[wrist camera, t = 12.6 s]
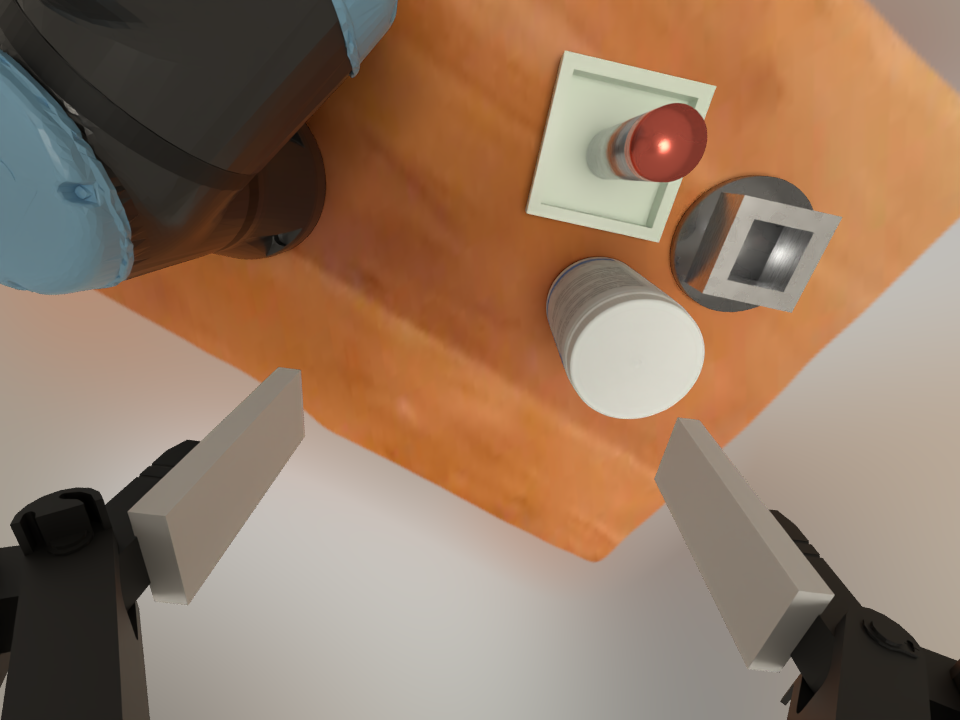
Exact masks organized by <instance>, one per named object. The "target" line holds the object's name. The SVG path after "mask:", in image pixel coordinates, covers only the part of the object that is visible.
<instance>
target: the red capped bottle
mask: <svg viewBox="0 0 960 720" xmlns="http://www.w3.org/2000/svg"><path fill="white" fill-rule="evenodd" d="M706 143H707V129H706V124H705V121H704V119H703V117H702V116H701V115H700V113H699V112H698V111H697V110H696V109H694V108H693V107H691V106H689V105H687V104H683V103H671V104H667V105H664V106H661V107H659V108H656V109H654V110H651V111H649V112H646V113H644V114H641V115H639V116H637V117H634V118H632V119H629V120H627V121H624V122H622V123H619V124H617V125H614V126H612V127H609V128H607V129H604V130H602V131H600V132H599V133H598V134H596V135H595V136H594V137H593V139H592V140H591V142H590V144H589V146H588V149H587V154H586V160H587V164H588V167H589V169H590V171H591V172H592V173H593V174H594V175H595V176H597V177H599V178H601V179H609V180H628V181H646V182H672V181H676V180H678V179H681V178H682V177H684V176H686V175H687V174H688V173H690V172H691V171H692V170H693V169H694V168H695V167H696V165H697V164H698V163H699V161H700V160H701V158H702V156H703V153H704V151H705V148H706Z"/></svg>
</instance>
